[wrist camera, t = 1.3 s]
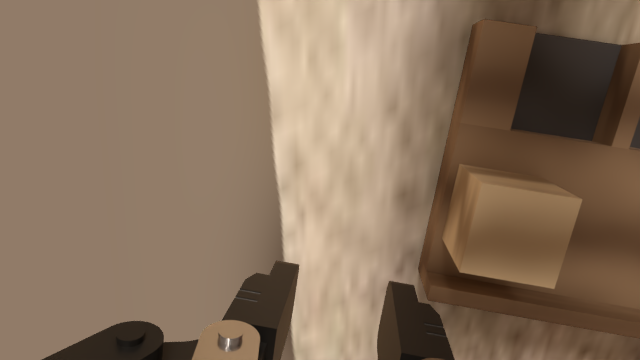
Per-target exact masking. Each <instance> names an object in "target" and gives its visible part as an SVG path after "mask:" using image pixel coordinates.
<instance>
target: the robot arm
mask: <svg viewBox="0 0 640 360" xmlns="http://www.w3.org/2000/svg"><path fill="white" fill-rule="evenodd" d="M298 272H299V265H298V264H293V263H287V262H281V261H276V262H275V264H274V266H273V268H272V270H271V273H270V275H265V274H260V273H256V274H254V275H252V276H250V277H249V278H247V279H246V280H245V281H244V283H243V284H242V287H241V288H240V290H239V291H238V293H237V295H236V298H235V299H234V300H233V302H232V304H231V305H230V307H229V309H228V311H227V312H226V314H225V316H224V318H223V319H222V321H218V322H215V323H213V324H210V325H209V326H207V327H206V328H205V329H204V330H203V331H202V333H201V335H200V337H199V339H198V340H193V341H187V342H163V340H164V335H163V332H162V330H161V329H160V328H159V327H158V326H156V325H154V324H152V323H149V322H143V321H130V322H123V323H120V324H116V325H114V326H111V327H109V328H107V329H105V330H103V331H101V332H99V333H96V334H94V335H92V336H90V337H88V338H86V339H84V340H82V341H80V342H78V343H76V344H73V345H72V346H69V347H67V348H65V349H63V350H61V351H59V352H57V353H55V354H53V355H51V356H48V357H46V358H44V359H42V360H280V359H281V356H282V352H283V349H284V345H285V342H286V338H287V335H288V331H289V327H290V323H291V318H292V312H293V306H294V299H295V292H296V286H297V279H298ZM377 352H378V360H454V357H453V354H452V351H451V348H450V345H449V342H448V339H447V337H446V333H445V330H444V328H443V324H442V321H441V318H440V315H439V314H438V313H437V312H436V311H435V310H434V309H433V308H432V307H431V306H430V305H429V304H425V303H419V302H418V299H417V295H416V292H415V288H414V285H409V284H404V283H398V282H393V281H389V283H388V286H387V291H386V296H385V300H384V305H383V310H382V315H381V320H380V325H379V330H378V339H377Z"/></svg>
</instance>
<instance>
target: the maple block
mask: <svg viewBox="0 0 640 360" xmlns="http://www.w3.org/2000/svg"><path fill="white" fill-rule="evenodd" d="M582 200H583V199H581V198H579V197H577V196H575V195H573V194H571V193H569V192H568V191H566V190H564V189H562V188H560V187H558V186H556V185H555V184H553V183H551V182H549V181H547V180H545V179H543V178H542V177H537V176H531V175H525V174H519V173H512V172H506V171H500V170H494V169H488V168H481V167H475V166H469V165H463V164H459V167H458V172H457V176H456V180H455V185H454V189H453V193H452V197H451V202H450V206H449V210H448V214H447V219H446V223H445V227H444V231H443V236H442V239H443V241H444V243H445V245H446V247H447V249H448V251H449V253H450V255H451V257H452V259H453V261H454V263H455V264H456V266H457V268H458V270H459V272H461V273H466V274H472V275H478V276H483V277H489V278H495V279H501V280H506V281H512V282H518V283H523V284H529V285H535V286H540V287H546V288H552V289H554V288H555V285H556V282H557V279H558V276H559V273H560V269H561V266H562V263H563V260H564V257H565V253H566V250H567V247H568V244H569V241H570V238H571V234H572V231H573V228H574V225H575V222H576V219H577V215H578V212H579V209H580V206H581V203H582Z"/></svg>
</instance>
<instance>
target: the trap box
mask: <svg viewBox="0 0 640 360" xmlns="http://www.w3.org/2000/svg"><path fill="white" fill-rule="evenodd" d="M536 29H537V27H536V26H529V25H522V24H515V23H508V22H500V21H493V20H486V19H484V20H482V21H480V22H478V23H476V24H473V26H472V31H471V35H470V40H469V44H468V49H467V53H466V58H465V62H464V67H463V71H462V76H461V80H460V84H459V89H458V93H457V98H456V102H455V107H454V111H453V116H452V120H451V125H450V129H449V134H448V138H447V142H446V147H445V151H444V156H443V160H442V165H441V169H440V174H439V178H438V183H437V187H436V192H435V196H434V200H433V205H432V209H431V214H430V218H429V223H428V227H427V232H426V236H425V241H424V245H423V250H422V254H421V258H420V263H419V267H418V270H419V273H420V276H421V280H422V283H423V286H424V289H425V293H426V296H427V299H428V300H430V301H435V302H441V303H446V304H452V305H458V306H463V307H469V308H474V309H480V310H485V311H491V312H496V313H502V314H507V315H513V316H519V317H524V318H530V319H535V320H541V321H546V322H552V323H557V324H563V325H568V326H574V327H579V328H585V329H591V330H596V331H602V332H607V333H613V334H618V335H624V336H629V337H635V338H640V43H635V44H627V45H616V44H609V43H602V42H595V41H588V40H581V39H574V38H567V37H560V36H553V35H546V34H539V33H536ZM459 164H463V165H469V166H475V167H481V168H488V169H494V170H500V171H506V172H512V173H519V174H525V175H531V176H537V177H542V178H543V179H545V180H547V181H549V182H551V183H553V184H555V185H556V186H558V187H560V188H562V189H564V190H566V191H568V192H569V193H571V194H573V195H575V196H577V197H579V198H581V199H583V200H582V203H581V206H580V209H579V212H578V215H577V219H576V222H575V225H574V228H573V231H572V234H571V238H570V241H569V244H568V247H567V250H566V253H565V257H564V260H563V263H562V266H561V269H560V273H559V276H558V279H557V282H556V285H555V288H554V289H552V288H546V287H540V286H535V285H529V284H523V283H518V282H512V281H506V280H501V279H495V278H489V277H483V276H478V275H472V274H466V273H461V272H459V270H458V268H457V266H456V264H455V263H454V261H453V259H452V257H451V255H450V253H449V251H448V249H447V247H446V245H445V243H444V241H443V239H442V236H443V231H444V227H445V223H446V219H447V214H448V210H449V206H450V202H451V197H452V193H453V189H454V185H455V180H456V176H457V172H458V167H459Z"/></svg>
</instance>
